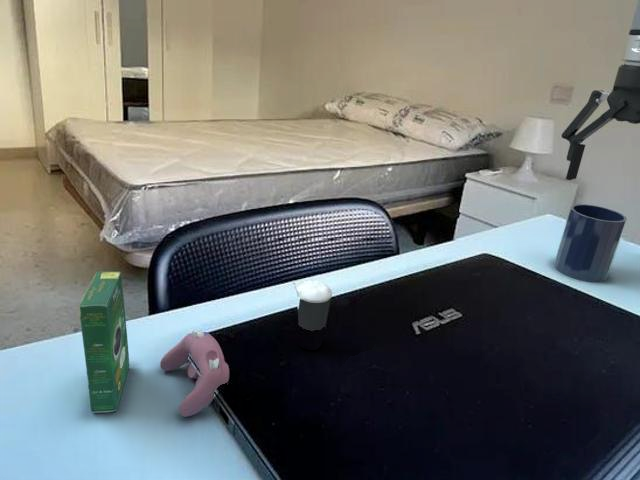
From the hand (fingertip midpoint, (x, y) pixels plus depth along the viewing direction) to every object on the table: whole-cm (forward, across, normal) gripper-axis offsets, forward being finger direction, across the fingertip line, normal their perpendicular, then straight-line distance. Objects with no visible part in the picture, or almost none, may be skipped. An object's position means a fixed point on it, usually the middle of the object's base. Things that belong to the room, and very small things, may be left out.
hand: (607, 188), depth 90 cm
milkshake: (+16, -10, -60) cm, 63 cm away
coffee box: (+16, -15, -84) cm, 87 cm away
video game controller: (+16, -10, -76) cm, 79 cm away
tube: (+17, 0, 0) cm, 17 cm away
